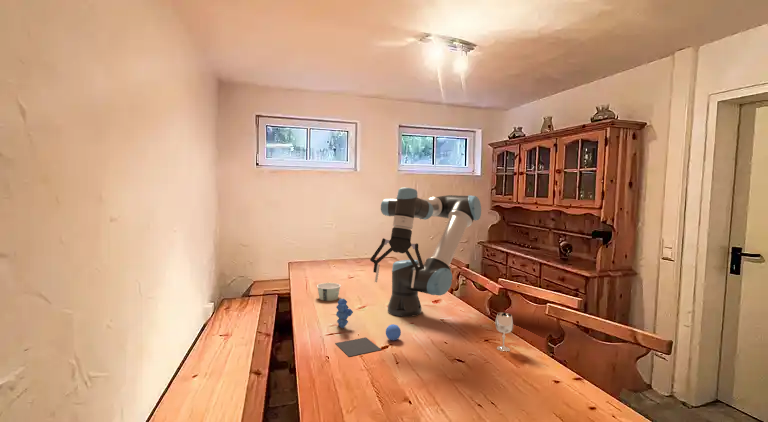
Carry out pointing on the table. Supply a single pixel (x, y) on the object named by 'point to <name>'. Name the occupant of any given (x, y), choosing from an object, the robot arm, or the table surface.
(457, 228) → the robot arm
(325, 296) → the food container
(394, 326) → the ball
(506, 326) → the wineglass
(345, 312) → the grapes
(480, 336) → the table surface
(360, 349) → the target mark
